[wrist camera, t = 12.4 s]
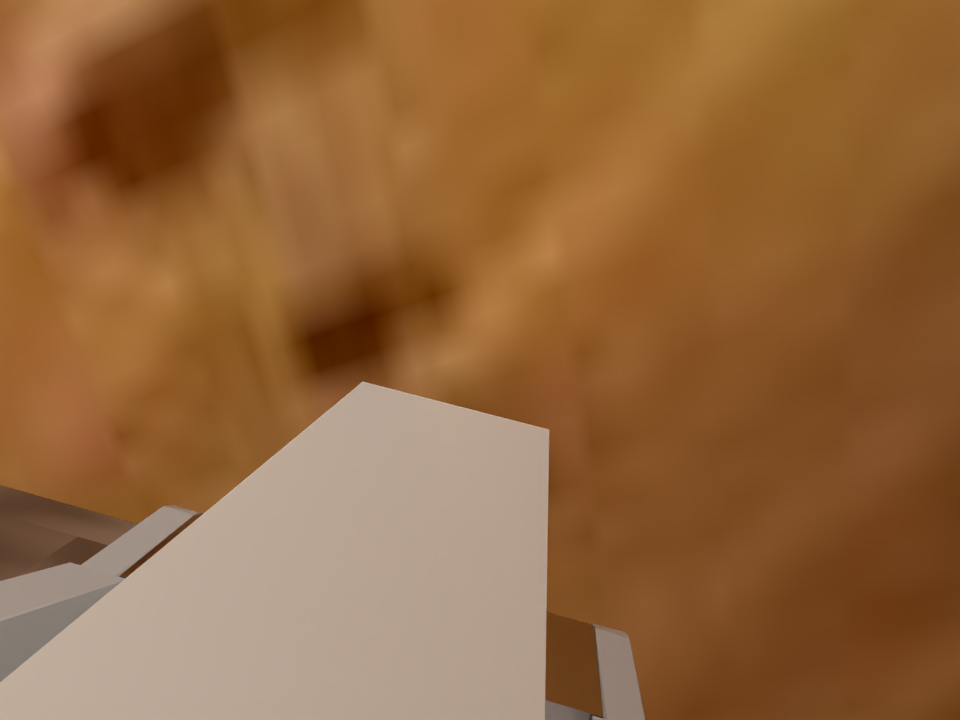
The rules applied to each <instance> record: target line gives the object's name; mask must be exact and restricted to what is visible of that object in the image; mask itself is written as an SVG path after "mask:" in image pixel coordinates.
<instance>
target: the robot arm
mask: <svg viewBox="0 0 960 720" xmlns="http://www.w3.org/2000/svg"><path fill="white" fill-rule="evenodd" d="M202 514H204V513H202ZM202 514H201V513H199V512H196V511H193V510H189V509H186V508H183V507H179V506H176V505H167V506H163V507H161V508H160V509H158V510H157V511H155V512H154V513H153V514H151V515H150V516H148V517H147V518H146V519H144V520H143V521H141V522H140V523H139V524H137V525H136V526H135V527H133V528H132V529H130V530H129V531H128V532H126V533H125V534H123V535H122V536H121V537H119V538H118V539H116V540H115V541H114V542H112V543H111V544H109V545H108V546H107V547H105V548H104V549H102V550H101V551H100V552H98V553H97V554H95V555H94V556H93V557H91V558H90V559H88V560H87V561H86V562H84V563H83V564H81V565H78V564H74V563H66V564H62V565H58V566H55V567H51V568H47V569H44V570H40V571H36V572H32V573H29V574H25V575H21V576H18V577H14V578H10V579H6V580H3V581H0V682H1V681H3V680H4V679H5V678H6V677H7V676H9V675H10V674H11V673H12V672H13V671H15V670H16V669H17V668H18V667H19V666H21V665H22V664H23V663H24V662H25V661H27V660H28V659H29V658H30V657H31V656H33V655H34V654H35V653H36V652H37V651H39V650H40V649H41V648H42V647H43V646H45V645H46V644H47V643H48V642H49V641H51V640H52V639H53V638H54V637H56V636H57V635H58V634H59V633H60V632H62V631H63V630H64V629H65V628H66V627H68V626H69V625H70V624H71V623H72V622H74V621H75V620H76V619H77V618H78V617H80V616H81V615H82V614H83V613H84V612H86V611H87V610H88V609H89V608H90V607H92V606H93V605H94V604H95V603H96V602H98V601H99V600H100V599H101V598H102V597H104V596H105V595H106V594H107V593H109V592H110V591H111V590H112V589H113V588H115V587H116V586H117V585H118V584H119V583H121V582H122V581H123V580H124V579H125V578H127V577H128V576H129V575H130V574H131V573H133V572H134V571H135V570H136V569H137V568H139V567H140V566H141V565H142V564H143V563H145V562H146V561H147V560H148V559H149V558H151V557H152V556H153V555H154V554H155V553H157V552H158V551H159V550H160V549H162V548H163V547H164V546H165V545H166V544H168V543H169V542H170V541H171V540H172V539H174V538H175V537H176V536H177V535H178V534H180V533H181V532H182V531H183V530H184V529H186V528H187V527H188V526H189V525H190V524H192V523H193V522H194V521H195V520H196V519H198V518H199V517H200V516H201V515H202ZM545 720H645V714H644V709H643V704H642V699H641V694H640V689H639V684H638V678H637V673H636V668H635V663H634V658H633V653H632V648H631V642H630V637H629V636H628V635H627V633H626V632H624V631H620V630H616V629H612V628H608V627H604V626H600V625H596V624H588V623H584V622H581V621H577V620H574V619H570V618H566V617H563V616H559V615H555V614H552V613H548V612H546V674H545Z"/></svg>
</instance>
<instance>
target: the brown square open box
mask: <svg viewBox="0 0 960 720" xmlns="http://www.w3.org/2000/svg"><path fill="white" fill-rule="evenodd" d="M136 525H137V524H135V523H131V522H128V521H124V520H121V519H117V518H114V517H110V516H107V515H103V514H100V513H96V512H93V511H89V510H86V509H82V508H79V507H75V506H71V505H68V504H64V503H61V502H57V501H54V500H50V499H47V498H43V497H40V496H36V495H33V494H29V493H26V492H22V491H19V490H15V489H12V488H8V487H5V486H1V485H0V581H3V580H6V579H10V578H14V577H18V576H21V575H25V574H29V573H32V572H36V571H40V570H44V569H47V568H51V567H55V566H58V565H62V564H66V563H74V564H78V565H81V564H83V563H84V562H86V561H87V560H88V559H90V558H91V557H93V556H94V555H95V554H97V553H98V552H100V551H101V550H102V549H104V548H105V547H107V546H108V545H109V544H111V543H112V542H114V541H115V540H116V539H118V538H119V537H121V536H122V535H123V534H125V533H126V532H128V531H129V530H130V529H132V528H133V527H135V526H136Z"/></svg>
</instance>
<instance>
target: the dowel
mask: <svg viewBox="0 0 960 720" xmlns="http://www.w3.org/2000/svg"><path fill="white" fill-rule="evenodd" d="M548 479H549V429H545V428H541V427H537V426H534V425H530V424H526V423H522V422H518V421H514V420H510V419H506V418H503V417H499V416H495V415H491V414H487V413H483V412H479V411H475V410H471V409H468V408H464V407H460V406H456V405H452V404H448V403H444V402H440V401H437V400H433V399H429V398H425V397H421V396H417V395H413V394H409V393H405V392H402V391H398V390H394V389H390V388H386V387H382V386H378V385H374V384H371V383H367V382H361V383H360V384H359V385H358V386H357V387H355V388H354V389H353V390H352V391H351V392H349V393H348V394H347V395H346V396H345V397H343V398H342V399H341V400H340V401H339V402H337V403H336V404H335V405H334V406H333V407H331V408H330V409H329V410H328V411H327V412H325V413H324V414H323V415H322V416H321V417H319V418H318V419H317V420H316V421H315V422H313V423H312V424H311V425H310V426H308V427H307V428H306V429H305V430H304V431H302V432H301V433H300V434H299V435H298V436H296V437H295V438H294V439H293V440H292V441H290V442H289V443H288V444H287V445H286V446H284V447H283V448H282V449H281V450H280V451H278V452H277V453H276V454H275V455H274V456H272V457H271V458H270V459H269V460H268V461H266V462H265V463H264V464H263V465H262V466H260V467H259V468H258V469H257V470H255V471H254V472H253V473H252V474H251V475H249V476H248V477H247V478H246V479H245V480H243V481H242V482H241V483H240V484H239V485H237V486H236V487H235V488H234V489H233V490H231V491H230V492H229V493H228V494H227V495H225V496H224V497H223V498H222V499H221V500H219V501H218V502H217V503H216V504H215V505H213V506H212V507H211V508H210V509H209V510H207V511H206V512H205V513H204V514H202V515H201V516H200V517H199V518H198V519H196V520H195V521H194V522H193V523H192V524H190V525H189V526H188V527H187V528H186V529H184V530H183V531H182V532H181V533H180V534H178V535H177V536H176V537H175V538H174V539H172V540H171V541H170V542H169V543H168V544H166V545H165V546H164V547H163V548H162V549H160V550H159V551H158V552H157V553H155V554H154V555H153V556H152V557H151V558H149V559H148V560H147V561H146V562H145V563H143V564H142V565H141V566H140V567H139V568H137V569H136V570H135V571H134V572H133V573H131V574H130V575H129V576H128V577H127V578H125V579H124V580H123V581H122V582H121V583H119V584H118V585H117V586H116V587H115V588H113V589H112V590H111V591H110V592H109V593H107V594H106V595H105V596H104V597H102V598H101V599H100V600H99V601H98V602H96V603H95V604H94V605H93V606H92V607H90V608H89V609H88V610H87V611H86V612H84V613H83V614H82V615H81V616H80V617H78V618H77V619H76V620H75V621H74V622H72V623H71V624H70V625H69V626H68V627H66V628H65V629H64V630H63V631H62V632H60V633H59V634H58V635H57V636H56V637H54V638H53V639H52V640H51V641H49V642H48V643H47V644H46V645H45V646H43V647H42V648H41V649H40V650H39V651H37V652H36V653H35V654H34V655H33V656H31V657H30V658H29V659H28V660H27V661H25V662H24V663H23V664H22V665H21V666H19V667H18V668H17V669H16V670H15V671H13V672H12V673H11V674H10V675H9V676H7V677H6V678H5V679H4V680H3V681H1V682H0V720H545V674H546V609H547V544H548Z"/></svg>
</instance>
